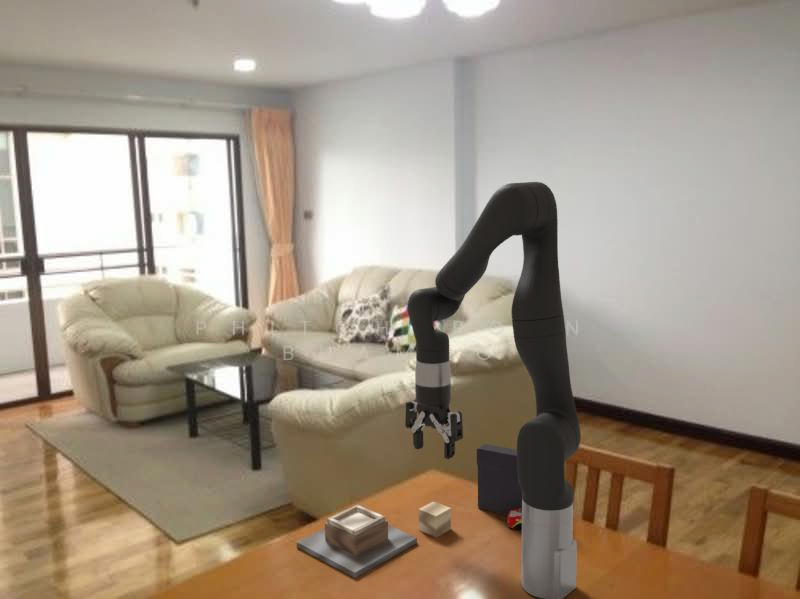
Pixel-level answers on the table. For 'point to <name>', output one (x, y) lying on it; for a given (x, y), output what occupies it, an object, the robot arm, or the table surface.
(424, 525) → the maple cube
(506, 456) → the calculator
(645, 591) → the table surface
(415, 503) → the table surface
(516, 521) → the race car
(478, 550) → the table surface
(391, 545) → the plate
